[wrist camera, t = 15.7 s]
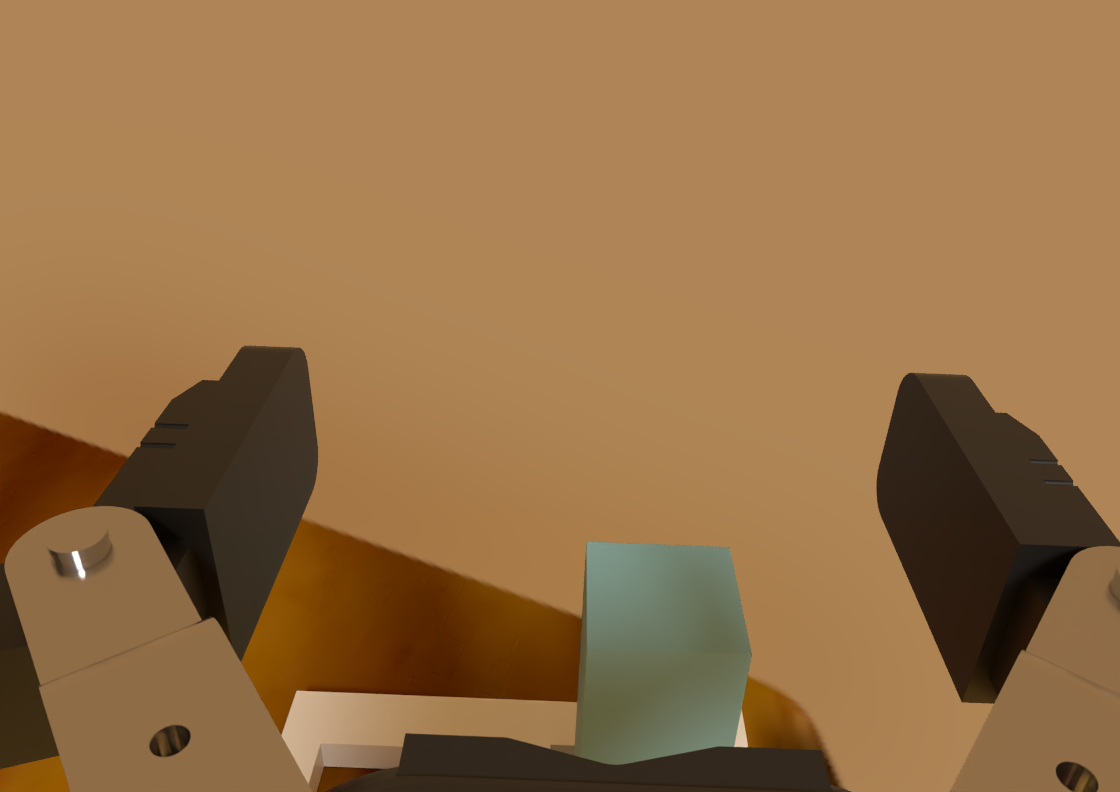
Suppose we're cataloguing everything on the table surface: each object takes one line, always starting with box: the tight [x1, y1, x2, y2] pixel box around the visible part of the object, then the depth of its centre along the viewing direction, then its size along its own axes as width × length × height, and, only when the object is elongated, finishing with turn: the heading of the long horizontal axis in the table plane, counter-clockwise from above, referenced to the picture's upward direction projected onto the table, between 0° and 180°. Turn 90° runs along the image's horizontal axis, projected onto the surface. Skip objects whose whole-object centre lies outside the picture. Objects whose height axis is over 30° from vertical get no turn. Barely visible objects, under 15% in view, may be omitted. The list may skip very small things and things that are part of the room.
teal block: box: [574, 542, 752, 765], centre depth 33 cm, size 5×5×12 cm
